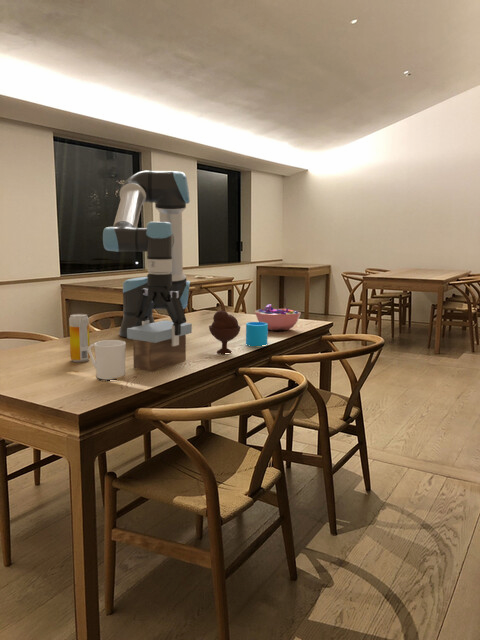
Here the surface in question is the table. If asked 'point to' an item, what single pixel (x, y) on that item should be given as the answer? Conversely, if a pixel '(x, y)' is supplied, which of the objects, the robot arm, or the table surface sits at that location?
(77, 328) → the beer can
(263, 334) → the mug
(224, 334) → the ice cream bowl
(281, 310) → the cell model
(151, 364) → the box
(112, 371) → the mug
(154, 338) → the lid
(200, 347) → the table surface
